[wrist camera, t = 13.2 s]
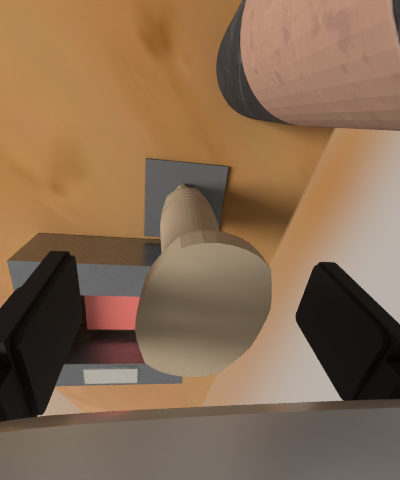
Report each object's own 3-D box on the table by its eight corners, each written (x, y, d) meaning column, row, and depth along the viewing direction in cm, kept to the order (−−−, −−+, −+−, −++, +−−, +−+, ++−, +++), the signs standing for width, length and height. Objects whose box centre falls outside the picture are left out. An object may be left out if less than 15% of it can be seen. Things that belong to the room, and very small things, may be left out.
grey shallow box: (38, 233, 23) (5, 261, 19) (191, 241, 25) (195, 269, 21) (57, 345, 29) (35, 388, 25) (180, 344, 31) (181, 385, 27)
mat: (146, 158, 22) (145, 158, 21) (227, 166, 23) (228, 166, 22) (144, 234, 25) (144, 235, 24) (216, 238, 26) (217, 240, 25)
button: (86, 274, 25) (82, 281, 24) (148, 276, 26) (147, 283, 25) (90, 321, 28) (87, 329, 27) (147, 321, 29) (146, 329, 28)
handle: (221, 173, 22) (297, 260, 9) (199, 238, 25) (232, 382, 11) (167, 157, 21) (161, 227, 8) (149, 226, 24) (122, 369, 10)
